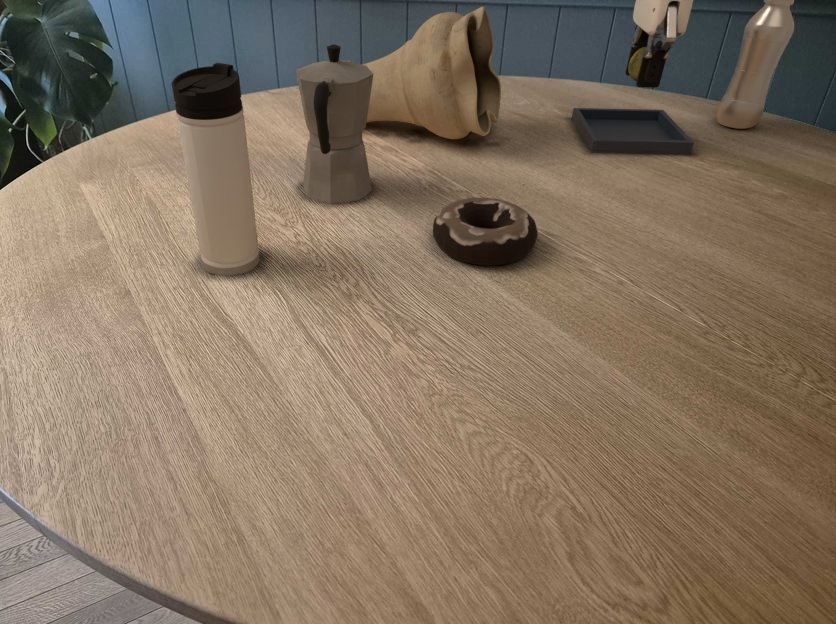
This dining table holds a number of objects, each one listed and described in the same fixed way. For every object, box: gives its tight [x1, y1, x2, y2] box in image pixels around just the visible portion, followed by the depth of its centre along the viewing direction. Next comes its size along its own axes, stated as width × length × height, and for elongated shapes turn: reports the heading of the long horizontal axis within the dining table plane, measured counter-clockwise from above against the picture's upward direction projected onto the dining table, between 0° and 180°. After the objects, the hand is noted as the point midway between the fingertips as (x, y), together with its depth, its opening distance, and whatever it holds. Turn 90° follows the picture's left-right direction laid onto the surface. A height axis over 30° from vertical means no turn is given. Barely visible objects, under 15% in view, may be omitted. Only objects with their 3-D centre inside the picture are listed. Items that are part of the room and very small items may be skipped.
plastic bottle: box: [715, 0, 795, 130], centre depth 101 cm, size 6×7×20 cm
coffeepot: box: [295, 43, 374, 205], centre depth 81 cm, size 15×9×18 cm, turn 171°
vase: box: [362, 6, 502, 140], centre depth 101 cm, size 22×22×28 cm
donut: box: [432, 197, 538, 267], centre depth 75 cm, size 12×12×4 cm
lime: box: [628, 47, 647, 82], centre depth 97 cm, size 4×5×5 cm
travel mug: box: [171, 62, 261, 277], centre depth 66 cm, size 6×7×20 cm
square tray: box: [570, 107, 695, 156], centre depth 103 cm, size 15×15×2 cm
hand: (641, 79), depth 98 cm, fingers closed on lime, 5 cm apart
